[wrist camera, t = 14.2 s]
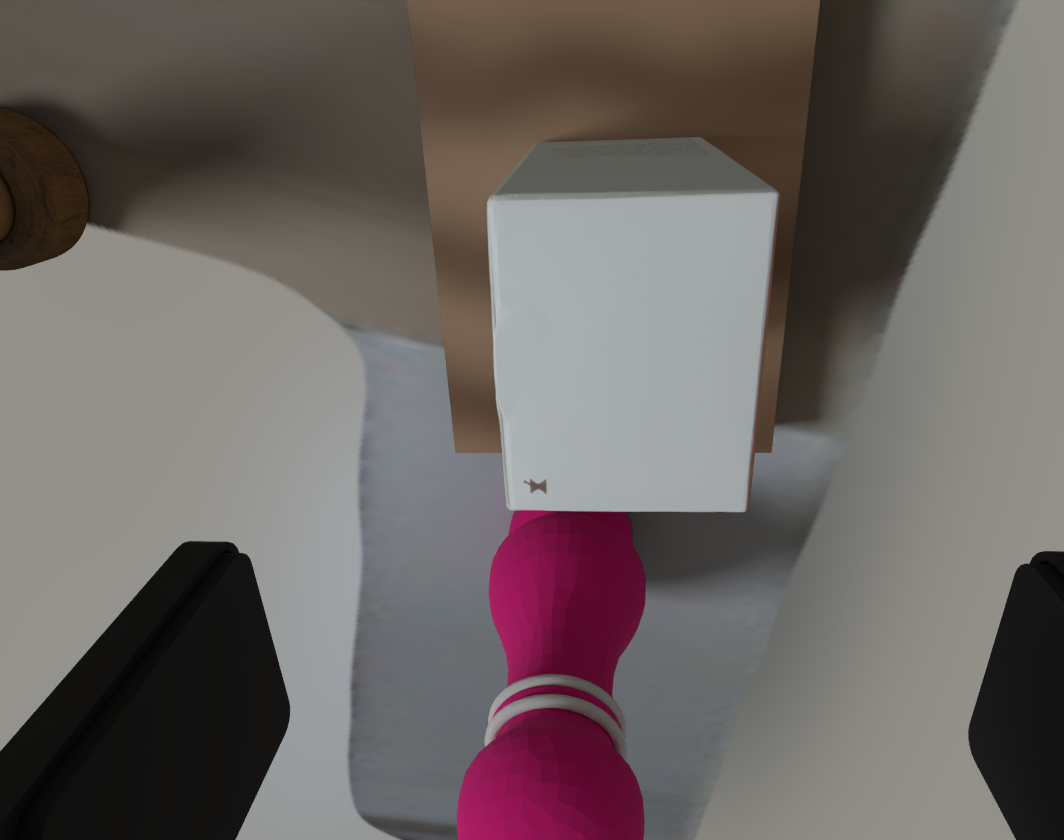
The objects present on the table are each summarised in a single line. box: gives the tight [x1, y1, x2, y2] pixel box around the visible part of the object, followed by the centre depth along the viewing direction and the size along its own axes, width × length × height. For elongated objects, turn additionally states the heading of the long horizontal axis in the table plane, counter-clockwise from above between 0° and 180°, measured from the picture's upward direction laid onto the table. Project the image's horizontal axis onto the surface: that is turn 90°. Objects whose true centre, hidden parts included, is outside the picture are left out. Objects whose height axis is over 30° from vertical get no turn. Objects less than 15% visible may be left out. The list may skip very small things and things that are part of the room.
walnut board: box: [407, 0, 820, 453], centre depth 30 cm, size 18×14×2 cm
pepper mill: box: [457, 510, 646, 840], centre depth 29 cm, size 7×7×20 cm
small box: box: [487, 137, 780, 512], centre depth 23 cm, size 8×6×13 cm
